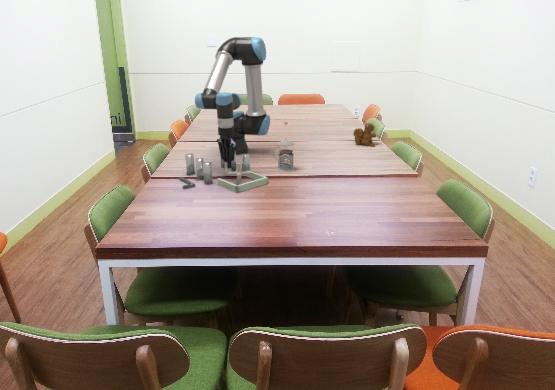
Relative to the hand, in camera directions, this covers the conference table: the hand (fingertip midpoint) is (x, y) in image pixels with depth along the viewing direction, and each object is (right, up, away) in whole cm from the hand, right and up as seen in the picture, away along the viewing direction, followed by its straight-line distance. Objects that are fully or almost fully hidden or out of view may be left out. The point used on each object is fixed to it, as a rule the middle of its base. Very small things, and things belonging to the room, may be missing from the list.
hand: (228, 174), depth 220 cm
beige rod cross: (+6, -5, -7) cm, 11 cm away
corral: (+7, -5, -7) cm, 12 cm away
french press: (+28, +3, +13) cm, 31 cm away
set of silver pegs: (-6, 0, +7) cm, 9 cm away
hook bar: (-21, -5, -7) cm, 23 cm away
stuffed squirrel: (+78, +21, +60) cm, 101 cm away
